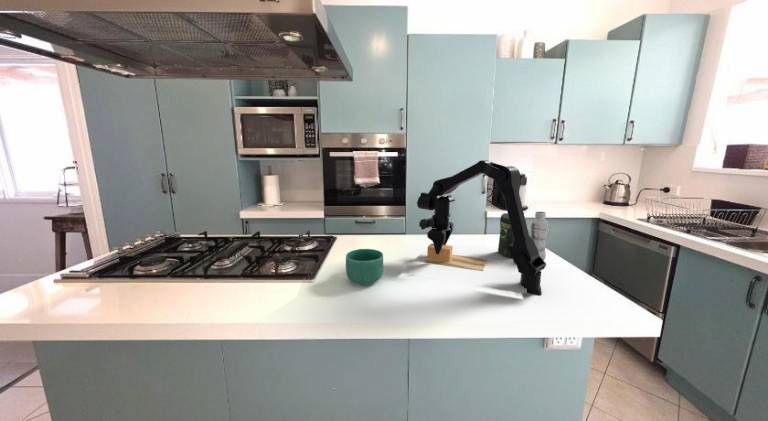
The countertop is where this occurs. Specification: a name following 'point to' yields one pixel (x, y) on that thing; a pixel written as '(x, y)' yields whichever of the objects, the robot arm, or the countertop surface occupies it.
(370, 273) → the mug
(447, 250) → the block
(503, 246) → the coffee jar
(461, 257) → the oak board
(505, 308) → the countertop surface
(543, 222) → the plastic bottle
